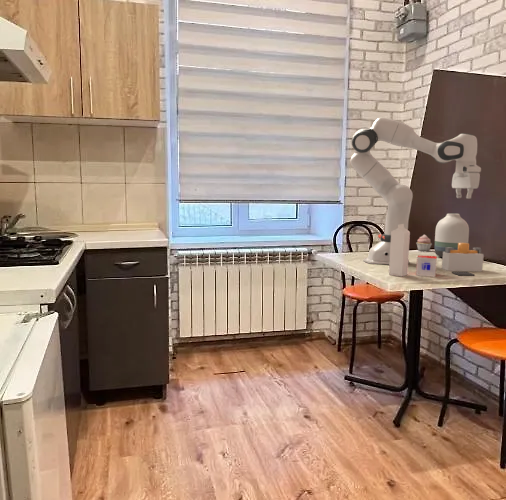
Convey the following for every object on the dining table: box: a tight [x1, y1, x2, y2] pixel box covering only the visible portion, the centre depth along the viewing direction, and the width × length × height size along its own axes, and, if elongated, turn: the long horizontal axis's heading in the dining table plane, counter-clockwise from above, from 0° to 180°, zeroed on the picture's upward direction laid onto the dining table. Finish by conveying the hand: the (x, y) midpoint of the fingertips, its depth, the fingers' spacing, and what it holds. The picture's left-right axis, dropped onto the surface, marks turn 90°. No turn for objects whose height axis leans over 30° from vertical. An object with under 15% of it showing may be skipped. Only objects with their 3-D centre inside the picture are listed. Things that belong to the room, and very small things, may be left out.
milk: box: [388, 224, 411, 277], centre depth 214 cm, size 6×6×22 cm
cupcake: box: [415, 234, 433, 252], centre depth 298 cm, size 9×9×10 cm
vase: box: [434, 213, 470, 258], centre depth 270 cm, size 17×17×24 cm
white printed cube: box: [415, 254, 438, 277], centre depth 217 cm, size 8×8×8 cm
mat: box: [451, 271, 475, 277], centre depth 219 cm, size 7×7×1 cm
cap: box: [450, 242, 478, 254], centre depth 230 cm, size 13×5×4 cm, turn 92°
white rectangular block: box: [441, 247, 484, 272], centre depth 231 cm, size 16×7×10 cm, turn 92°
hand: (463, 198), depth 236 cm, fingers open, 8 cm apart
